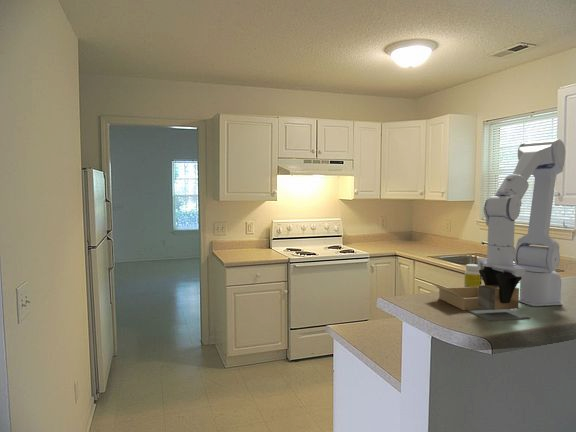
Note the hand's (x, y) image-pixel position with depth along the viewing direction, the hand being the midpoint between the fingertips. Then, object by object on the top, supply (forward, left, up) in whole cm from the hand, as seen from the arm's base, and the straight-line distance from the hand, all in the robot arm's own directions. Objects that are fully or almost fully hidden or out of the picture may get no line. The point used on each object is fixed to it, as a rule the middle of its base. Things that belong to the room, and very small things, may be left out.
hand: (498, 300), depth 101 cm
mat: (0, 0, -4) cm, 4 cm away
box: (0, 0, -2) cm, 2 cm away
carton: (0, -11, -4) cm, 12 cm away
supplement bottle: (-8, -22, -4) cm, 24 cm away
